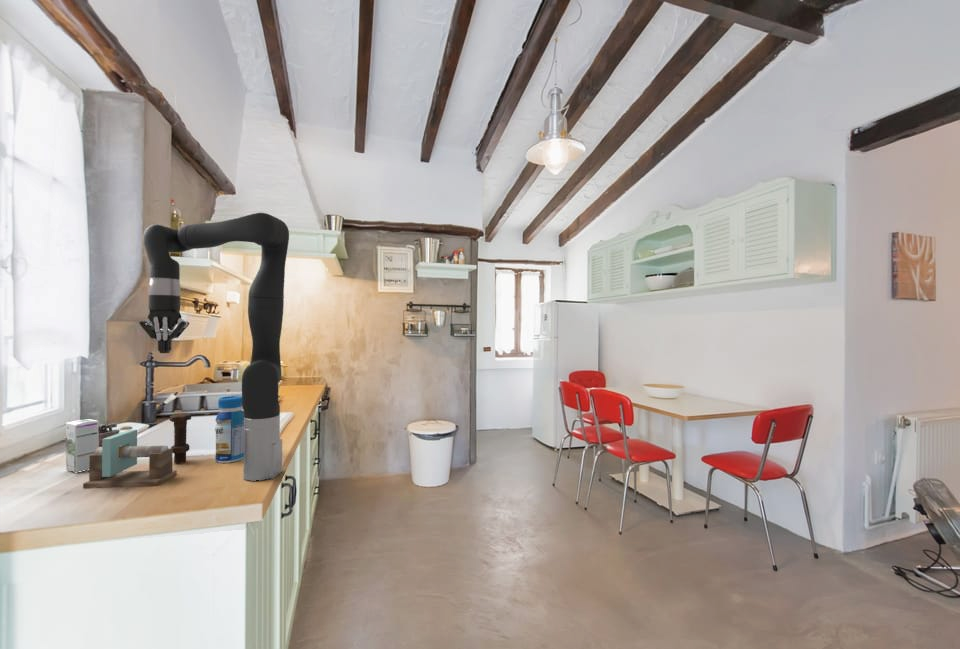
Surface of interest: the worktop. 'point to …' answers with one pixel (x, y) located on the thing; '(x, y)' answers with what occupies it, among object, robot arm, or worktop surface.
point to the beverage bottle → (229, 430)
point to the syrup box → (81, 443)
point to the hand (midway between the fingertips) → (164, 353)
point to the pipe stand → (157, 471)
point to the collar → (117, 453)
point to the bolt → (180, 437)
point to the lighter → (106, 432)
